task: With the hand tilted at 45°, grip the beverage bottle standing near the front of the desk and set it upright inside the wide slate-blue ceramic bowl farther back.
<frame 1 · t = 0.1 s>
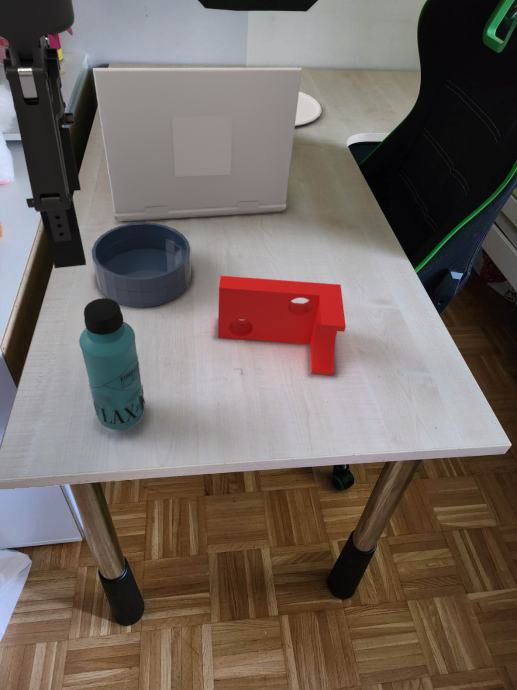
hand: (69, 224, 51), 29 cm above the table, tool pointing down, fingers open, 13 cm apart
bowl: (144, 277, 91), on the table
beverage bottle: (123, 418, 70), on the table
plate: (270, 108, 148), on the table
laptop: (194, 187, 114), on the table
bracket: (274, 348, 82), on the table
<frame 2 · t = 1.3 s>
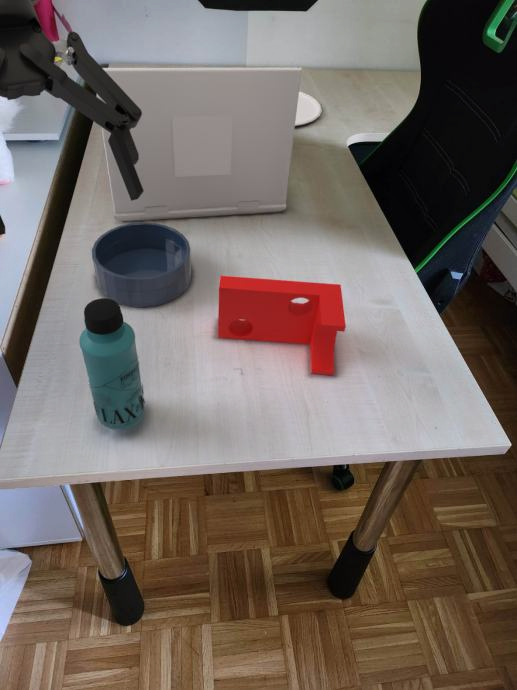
hand: (73, 213, 51), 30 cm above the table, tool tilted 45°, fingers open, 13 cm apart
nothing on the table moved.
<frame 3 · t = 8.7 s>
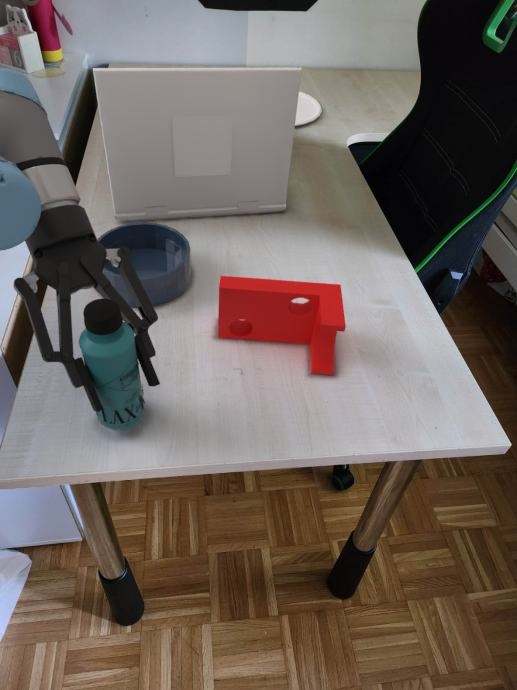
hand: (127, 396, 62), 8 cm above the table, tool tilted 45°, fingers closed on beverage bottle, 6 cm apart
beverage bottle: (123, 418, 70), on the table, touching gripper
everything else where it was.
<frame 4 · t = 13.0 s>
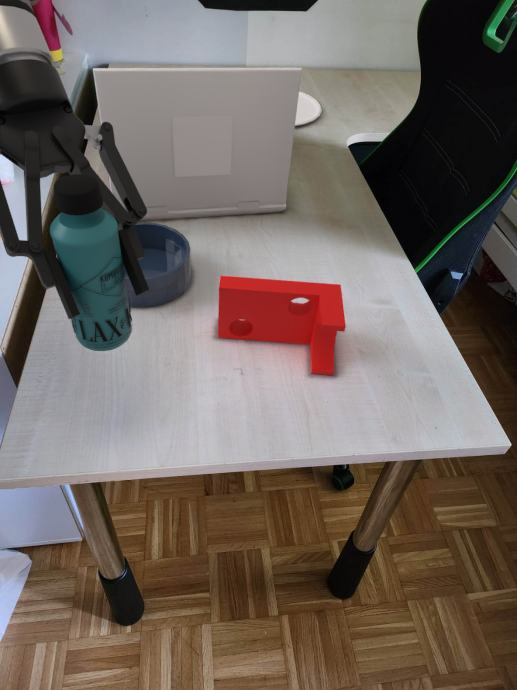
hand: (109, 304, 52), 23 cm above the table, tool tilted 45°, fingers closed on beverage bottle, 6 cm apart
beverage bottle: (107, 342, 60), point 15 cm above the table, touching gripper
everything else where it was.
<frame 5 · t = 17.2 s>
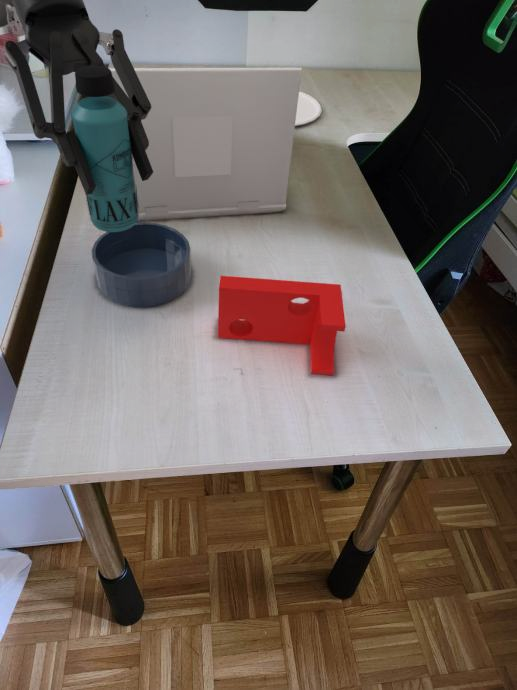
hand: (120, 183, 62), 27 cm above the table, tool tilted 45°, fingers closed on beverage bottle, 6 cm apart
beverage bottle: (117, 229, 70), point 18 cm above the table, touching gripper
everything else where it was.
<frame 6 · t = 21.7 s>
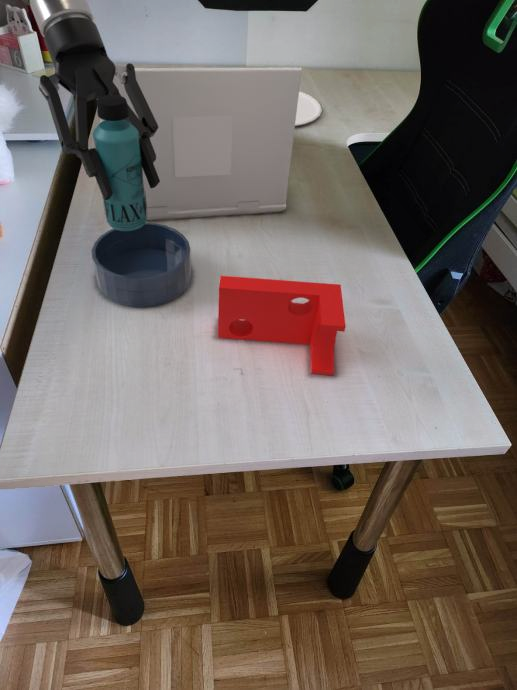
hand: (132, 190, 74), 19 cm above the table, tool tilted 45°, fingers closed on beverage bottle, 6 cm apart
beverage bottle: (128, 229, 83), point 11 cm above the table, touching gripper
everything else where it was.
when the fingers open (9 cm above the table, at t = 25.6 s): beverage bottle stays where it is, resting on bowl.
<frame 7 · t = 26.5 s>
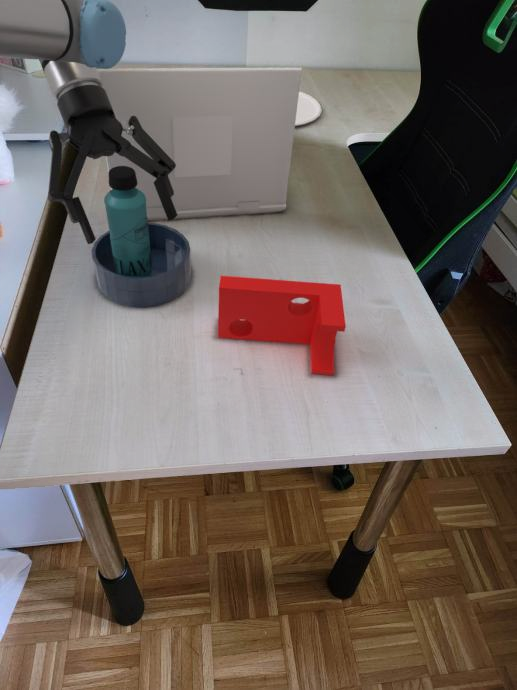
hand: (134, 229, 80), 12 cm above the table, tool tilted 45°, fingers open, 13 cm apart
beverage bottle: (135, 279, 90), point 1 cm above the table, touching bowl
everything else where it was.
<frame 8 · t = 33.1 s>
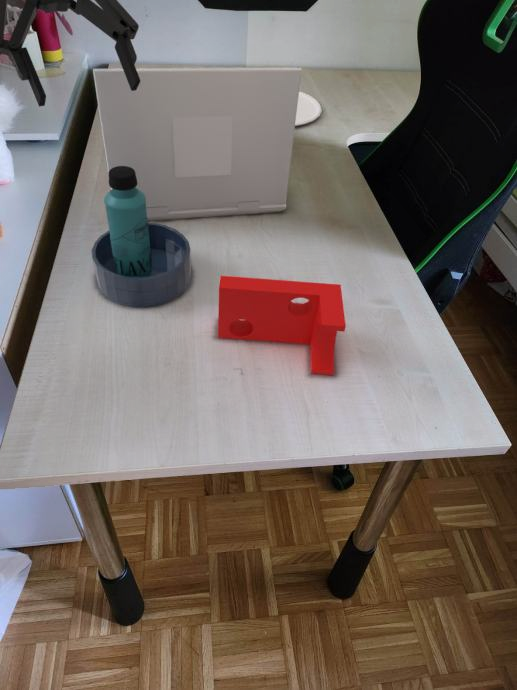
hand: (91, 93, 72), 30 cm above the table, tool tilted 45°, fingers open, 13 cm apart
nothing on the table moved.
at the end: beverage bottle inside the target area in the bowl (2.0 cm from its centre), point 0.6 cm above the bowl's base; beverage bottle tilted 0°; the gripper is holding nothing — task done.
